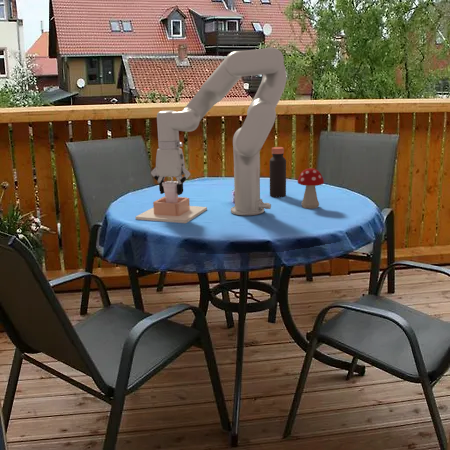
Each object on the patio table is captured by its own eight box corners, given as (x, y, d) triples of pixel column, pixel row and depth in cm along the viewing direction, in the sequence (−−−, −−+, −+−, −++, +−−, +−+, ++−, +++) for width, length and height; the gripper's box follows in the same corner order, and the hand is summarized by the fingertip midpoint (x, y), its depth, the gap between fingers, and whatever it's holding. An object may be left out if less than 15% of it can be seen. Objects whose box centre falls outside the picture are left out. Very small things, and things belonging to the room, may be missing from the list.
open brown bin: (207, 209, 230) (206, 195, 228) (185, 223, 212) (185, 208, 210) (160, 206, 236) (159, 192, 235) (135, 219, 218) (134, 204, 217)
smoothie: (178, 210, 220) (176, 172, 216) (161, 210, 221) (159, 172, 217) (182, 206, 226) (180, 169, 222) (166, 205, 227) (164, 169, 223)
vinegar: (288, 196, 247) (289, 148, 242) (274, 198, 245) (274, 149, 239) (281, 193, 253) (281, 146, 248) (266, 195, 251) (266, 147, 245)
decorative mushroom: (324, 204, 232) (325, 166, 228) (322, 210, 224) (322, 170, 220) (299, 203, 235) (299, 166, 231) (295, 209, 227) (295, 170, 223)
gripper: (194, 144, 217) (196, 192, 222) (152, 143, 223) (155, 190, 228) (186, 147, 211) (188, 197, 216) (142, 146, 217) (145, 194, 221)
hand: (171, 193), depth 222 cm, fingers closed on smoothie, 6 cm apart
